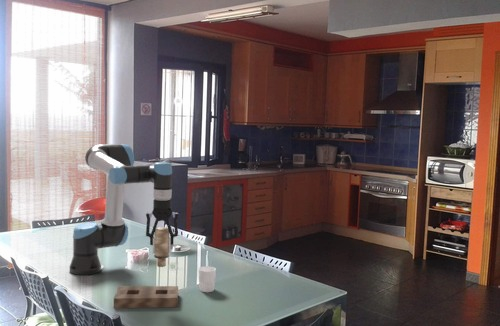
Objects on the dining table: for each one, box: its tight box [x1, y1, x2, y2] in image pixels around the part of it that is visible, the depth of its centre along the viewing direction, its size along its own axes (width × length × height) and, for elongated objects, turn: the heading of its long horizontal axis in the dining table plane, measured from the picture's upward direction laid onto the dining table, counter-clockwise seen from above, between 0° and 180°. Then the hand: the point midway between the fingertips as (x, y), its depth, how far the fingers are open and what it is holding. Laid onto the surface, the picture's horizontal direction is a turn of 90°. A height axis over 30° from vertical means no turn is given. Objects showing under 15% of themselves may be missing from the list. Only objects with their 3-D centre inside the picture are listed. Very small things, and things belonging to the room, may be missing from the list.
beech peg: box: [153, 226, 170, 268], centre depth 212 cm, size 6×6×16 cm
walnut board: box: [113, 285, 179, 309], centre depth 213 cm, size 26×14×4 cm, turn 97°
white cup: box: [198, 265, 217, 293], centre depth 229 cm, size 8×8×10 cm
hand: (161, 252), depth 212 cm, fingers closed on beech peg, 6 cm apart
